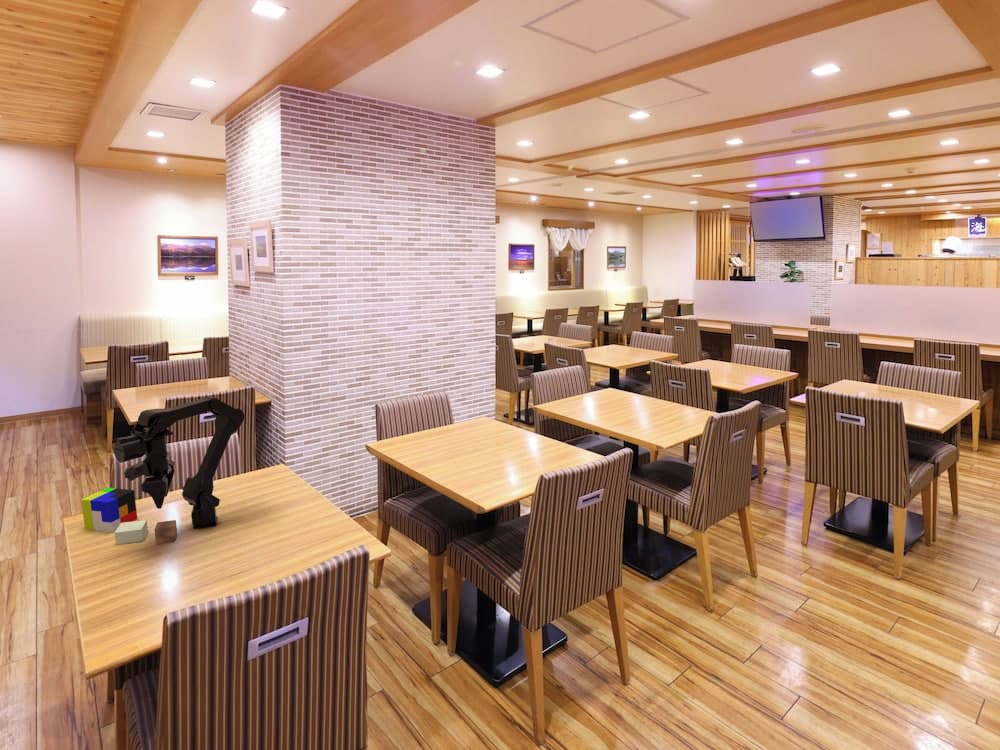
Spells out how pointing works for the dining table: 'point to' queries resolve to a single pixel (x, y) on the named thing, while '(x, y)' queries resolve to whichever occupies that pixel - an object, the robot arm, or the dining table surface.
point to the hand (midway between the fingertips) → (162, 502)
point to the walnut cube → (166, 532)
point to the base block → (131, 532)
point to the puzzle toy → (109, 509)
